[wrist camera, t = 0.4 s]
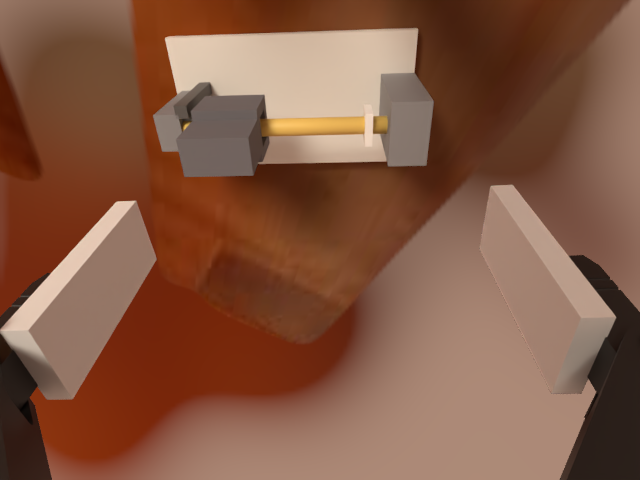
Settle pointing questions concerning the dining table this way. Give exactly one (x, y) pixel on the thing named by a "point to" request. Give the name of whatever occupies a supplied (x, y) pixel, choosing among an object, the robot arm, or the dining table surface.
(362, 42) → the rod stand
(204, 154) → the grey sliding block
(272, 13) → the dining table surface
